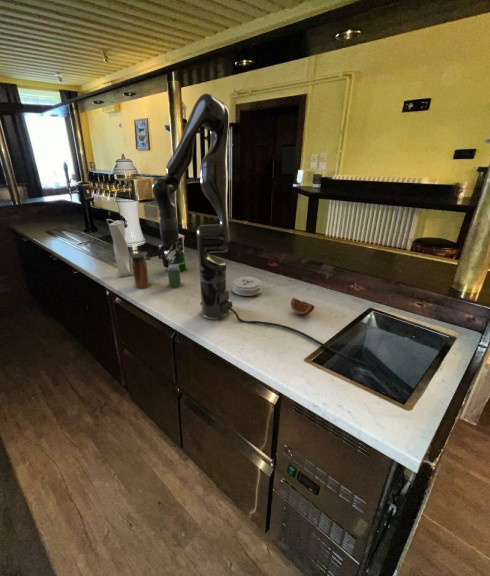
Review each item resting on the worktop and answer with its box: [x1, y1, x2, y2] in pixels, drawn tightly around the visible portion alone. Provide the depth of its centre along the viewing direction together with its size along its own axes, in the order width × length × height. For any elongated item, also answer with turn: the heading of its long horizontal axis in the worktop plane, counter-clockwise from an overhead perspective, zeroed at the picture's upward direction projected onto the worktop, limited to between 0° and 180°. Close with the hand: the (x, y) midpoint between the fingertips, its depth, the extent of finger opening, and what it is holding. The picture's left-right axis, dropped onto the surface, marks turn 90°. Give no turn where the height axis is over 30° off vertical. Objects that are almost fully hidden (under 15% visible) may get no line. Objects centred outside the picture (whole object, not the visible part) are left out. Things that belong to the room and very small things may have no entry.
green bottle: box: [166, 264, 182, 289], centre depth 135 cm, size 5×5×10 cm
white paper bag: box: [106, 218, 134, 278], centre depth 147 cm, size 8×8×28 cm
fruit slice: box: [290, 297, 315, 316], centre depth 109 cm, size 8×7×5 cm
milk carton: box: [165, 233, 187, 273], centre depth 150 cm, size 9×9×20 cm
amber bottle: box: [131, 253, 150, 289], centre depth 135 cm, size 6×6×14 cm
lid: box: [231, 276, 263, 297], centre depth 127 cm, size 13×13×5 cm
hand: (172, 263), depth 133 cm, fingers open, 8 cm apart
